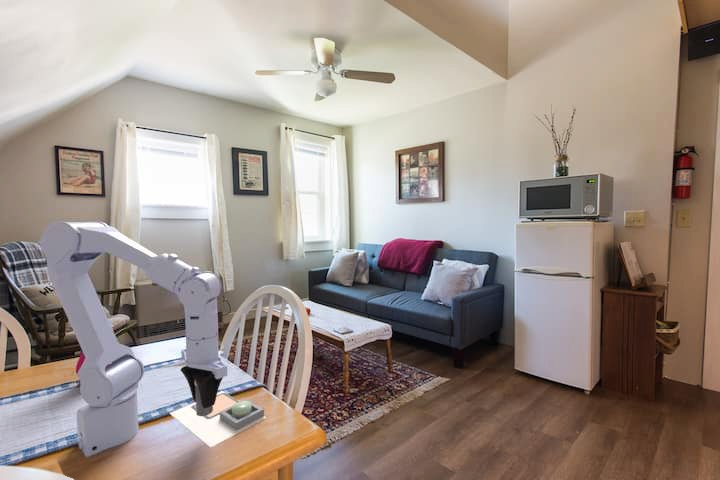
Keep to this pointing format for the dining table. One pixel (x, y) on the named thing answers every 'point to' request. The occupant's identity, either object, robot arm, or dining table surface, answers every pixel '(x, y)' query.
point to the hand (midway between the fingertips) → (204, 402)
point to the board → (217, 420)
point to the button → (241, 409)
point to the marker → (199, 408)
